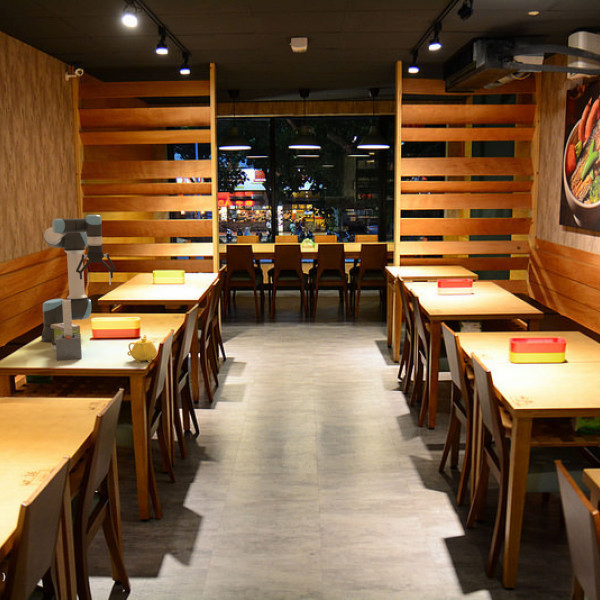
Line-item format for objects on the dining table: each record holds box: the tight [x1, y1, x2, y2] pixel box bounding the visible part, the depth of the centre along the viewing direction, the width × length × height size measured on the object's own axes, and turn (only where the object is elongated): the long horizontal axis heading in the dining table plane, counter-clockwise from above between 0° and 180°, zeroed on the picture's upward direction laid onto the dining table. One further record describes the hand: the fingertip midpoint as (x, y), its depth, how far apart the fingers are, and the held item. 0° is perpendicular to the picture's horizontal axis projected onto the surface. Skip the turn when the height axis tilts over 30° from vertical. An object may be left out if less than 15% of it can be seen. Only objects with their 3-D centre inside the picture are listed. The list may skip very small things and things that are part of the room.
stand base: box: [55, 333, 83, 362], centre depth 359 cm, size 16×16×13 cm
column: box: [62, 299, 73, 338], centre depth 357 cm, size 6×4×24 cm
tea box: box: [50, 323, 81, 351], centre depth 377 cm, size 15×10×15 cm, turn 45°
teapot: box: [126, 334, 158, 363], centre depth 357 cm, size 20×15×12 cm
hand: (96, 285), depth 368 cm, fingers open, 13 cm apart
